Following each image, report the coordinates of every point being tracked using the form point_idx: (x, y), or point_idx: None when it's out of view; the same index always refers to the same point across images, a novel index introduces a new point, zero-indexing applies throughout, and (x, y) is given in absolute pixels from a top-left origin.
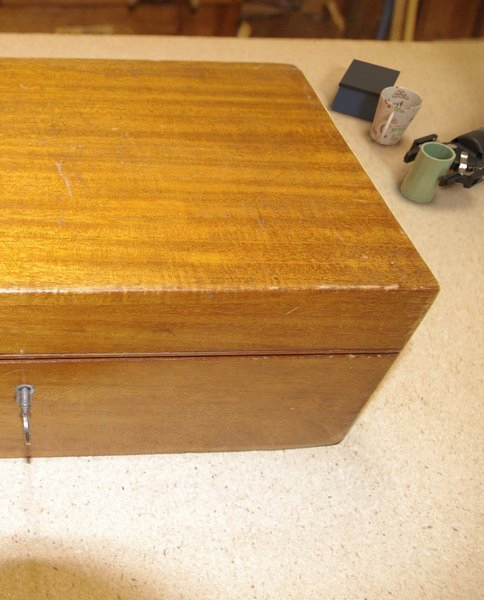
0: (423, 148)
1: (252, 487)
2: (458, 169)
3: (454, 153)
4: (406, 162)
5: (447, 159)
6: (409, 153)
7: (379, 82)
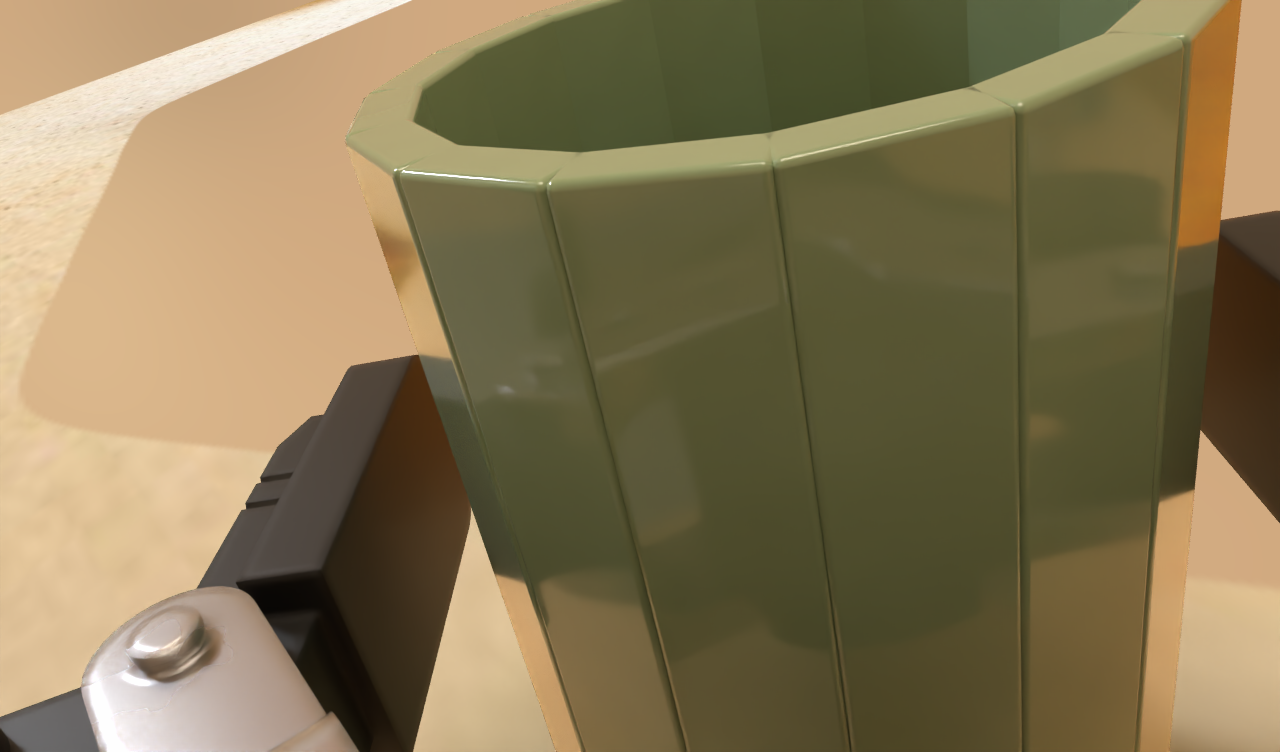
0: (1071, 35)
1: (246, 55)
2: (311, 691)
3: (462, 164)
4: None
5: (433, 67)
6: (1249, 217)
7: None
